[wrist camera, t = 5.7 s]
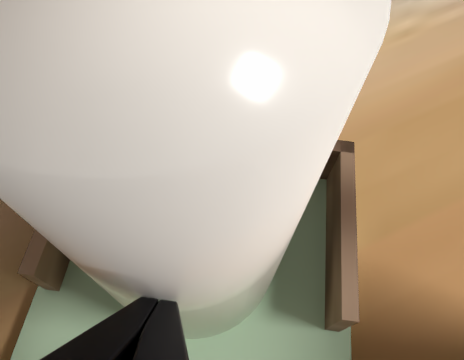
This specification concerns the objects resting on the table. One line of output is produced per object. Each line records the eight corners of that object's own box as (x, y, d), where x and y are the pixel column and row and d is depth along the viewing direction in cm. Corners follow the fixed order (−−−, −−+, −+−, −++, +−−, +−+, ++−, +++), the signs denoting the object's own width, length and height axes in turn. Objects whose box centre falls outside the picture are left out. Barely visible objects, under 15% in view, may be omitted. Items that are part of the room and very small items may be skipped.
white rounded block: (231, 372, 14) (269, 307, 3) (80, 289, 16) (-276, 33, 4) (297, 220, 18) (439, -89, 6) (167, 162, 19) (87, -180, 8)
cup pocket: (339, 331, 15) (359, 321, 13) (45, 289, 16) (17, 272, 14) (338, 170, 19) (354, 141, 17) (100, 140, 19) (84, 108, 17)
